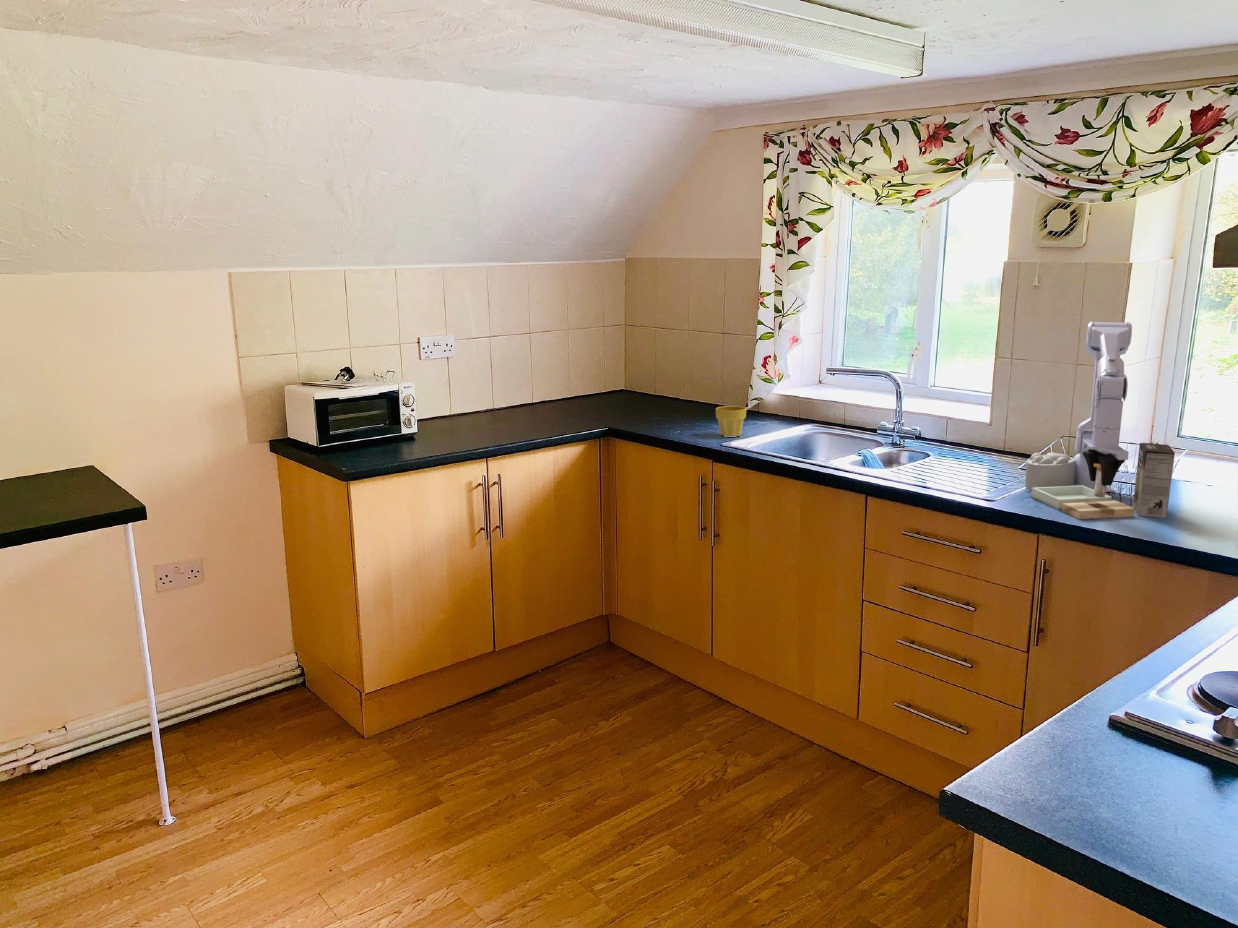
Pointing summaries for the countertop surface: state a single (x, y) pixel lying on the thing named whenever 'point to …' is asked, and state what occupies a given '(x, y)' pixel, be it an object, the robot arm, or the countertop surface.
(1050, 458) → the lumpy-topped squat cylinder
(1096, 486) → the pin
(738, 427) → the plant pot
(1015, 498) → the countertop surface
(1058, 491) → the tray
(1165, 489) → the coffee box
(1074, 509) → the tan flat rectangular block
